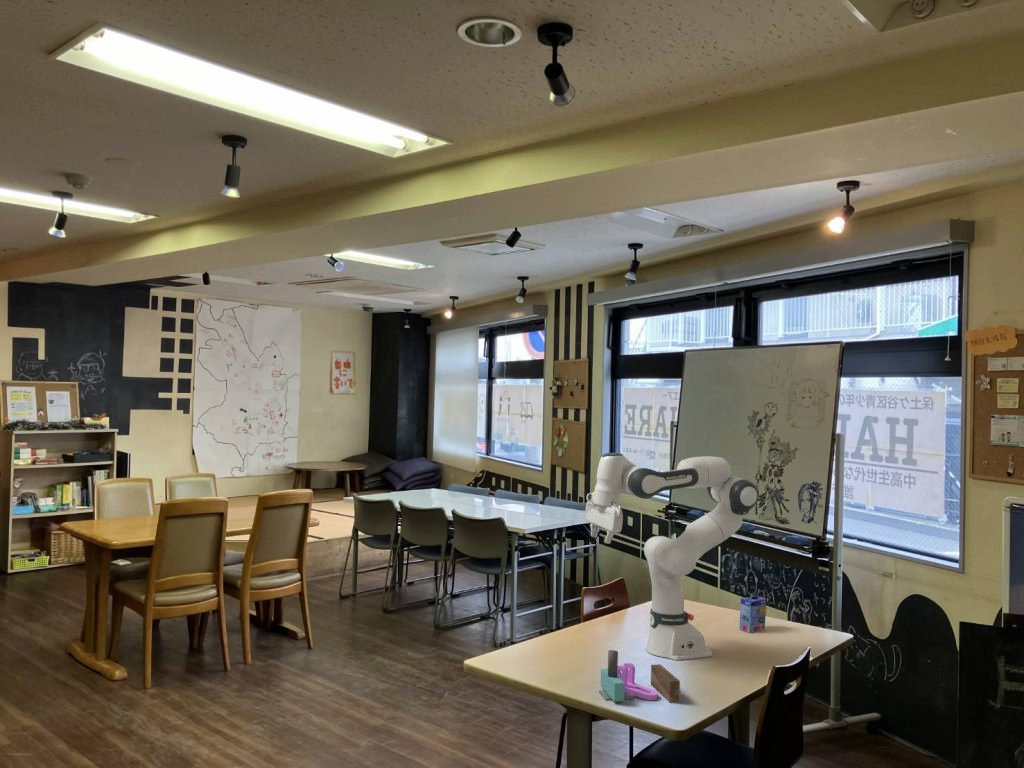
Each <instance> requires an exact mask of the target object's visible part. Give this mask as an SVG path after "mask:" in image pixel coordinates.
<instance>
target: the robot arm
mask: <svg viewBox="0 0 1024 768" xmlns="http://www.w3.org/2000/svg"><path fill="white" fill-rule="evenodd" d="M731 473H732V470H731V466H730V463H729V462H728V461H727V459H725V458H723V457H720V456H711V455H709V456H707V455H705V456H703V455H702V456H693V457H688V458H684V459H681V460H680V462H679V463H678V464H677V467H676V469H673V470H672V469H671V470H663V471H656V470H655V469H651V468H647V467H642V466H639V465H637V464H635V463H633V462H631V461H630V460H629V459H628V458H626V457H625V455H624V454H623V453H621V452H607V453H604V454H602V456H601V457H600V459H599V462H598V466H597V470H596V484H595V486H594V491H593V492H590V493H587V495H586V500H587V501H586V504H585V511H584V518H585V521H587V522H589V523H590V524H589V527H590V531H591V532H590V537H592V538H598V533H599V532H598V530H597V529H598V528H597V527H600V528H601V529H604V530H606V533H607V534H606V535H605V536H604V538H603V543H605V544H611V543H612V538H614V535H615V533H621V532H622V529H623V523H624V522H623V520H624V514H623V511H622V508H621V505H620V498H621V492H622V491H625V492H627V493H630V494H632V495H635V496H636V497H638V498H639V499H645V500H647V499H651V498H653V497H655V496H657V495H658V494H660V493H661V492H664V491H670V490H671V491H672V490H677V489H683V488H684V489H705V488H706V491H707V494H708V496H709V498H710V499H711V500H712V501H713V502H715V503H717V505H716V507H714V509H712V510H711V511H709V512H707V513H706V514H704V515H702V516H700V517H699V518H697V519H695V520H694V521H692V522H691V523H689V524H687V525H686V527H685V530H684V531H683V532H682V533H681V534H680V535H679V536H678V537H676V538H669V537H667V536H664V535H655V536H652V537H650V538H648V539H647V540H646V542H645V544H644V545H643V552H644V556H645V559H646V560H647V565H648V570H649V575H650V581H651V582H650V583H651V609H650V611H649V612H650V613H649V614H650V615H649V624H650V629H649V634H648V635H649V636H648V641H647V644H646V647H645V651H646V652H648V653H649V654H651V655H653V656H658V657H662V658H666V659H667V658H668V659H671V660H674V661H682V660H691V659H698V658H707V657H712V656H713V653H712V650H711V649H710V647H708V646H706V641H705V637H704V635H703V633H702V632H701V631H699V629H697V628H696V627H695V626H694V625H693V624H691V623H690V622H691V621H694V619H695V615H693V614H692V613H688V612H686V611H685V587H684V586H683V583H682V580H681V577H680V576H687V575H689V574H690V573H692V572H693V571H694V570H695V568H696V566H697V562H698V560H700V558H702V556H703V555H704V554H705V553H707V552H709V551H710V550H711V549H712V550H713V548H714V547H717V546H718V545H720V544H721V543H723V542H724V541H726V540H727V539H728V538H730V537H731V536H733V535H735V533H736V532H737V531H738V530H740V528H741V527H742V525H743V517H742V516H745V515H748V513H749V512H750V510H752V509H753V508H755V506H756V504H757V503H758V500H759V497H760V491H759V489H758V486H756V485H755V483H753V482H752V481H750V480H748V479H744V478H741V477H738V476H733V475H732V474H731ZM689 621H690V622H689Z"/></svg>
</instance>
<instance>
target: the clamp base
mask: <svg viewBox="0 0 1024 768" xmlns="http://www.w3.org/2000/svg"><path fill="white" fill-rule="evenodd" d="M650 686H652V688H654V690H655V691H657V692H658V694H660V695H661V696H662V697H663V698H664V699H665V700H666V701H667V702H668V703H669V704H670V703H680V695H681V694H680V689H681V681H680V680H679V679H678V678H677V677H676V676H675V675H673V673H671V672H670V671H669V670H667V668H665V667H664V666H663V665H662V664H651V665H650ZM598 693H599V695H600V696H601V697H602V698H603V700H605V701H613V699H612V698H611V697H610V696H609V695H608V694H607V693H606V691H605V690H599V691H598ZM635 699H636V696H634V695H631V694H628V693H626V692H624V700H635Z"/></svg>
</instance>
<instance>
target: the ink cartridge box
mask: <svg viewBox="0 0 1024 768" xmlns="http://www.w3.org/2000/svg"><path fill="white" fill-rule="evenodd" d="M759 595H760V592H757V593H756V592H755V593H753V594H752V596H748V597H747V596H746V597H742V598H740V606H739V607H740V609H739V630H741V631H743V632H746V633H749V634H752V633H756V632H760V631H764V630H765V629H766V614H767V598H764V597H762V596H759Z"/></svg>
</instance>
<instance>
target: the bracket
mask: <svg viewBox="0 0 1024 768" xmlns="http://www.w3.org/2000/svg"><path fill="white" fill-rule="evenodd" d="M617 676H618V677H619V678H620V679H621V680H622V681H623V682H624V683H625V687H624V692H626V693H628V694H631V695H633V696H634V697H636V698H637V697H638V698H640V699H643V700H646V701H656V700H658V698H659V697H658V696H659V692H658V691H657V690H656V689H652V688H649V687H647V686H643V685H641V684H638V683H636V682H635V677H636V667H635V665H634V664H633V662H629V661H628V662H626V663H623V664H620V665H618V669H617Z"/></svg>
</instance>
